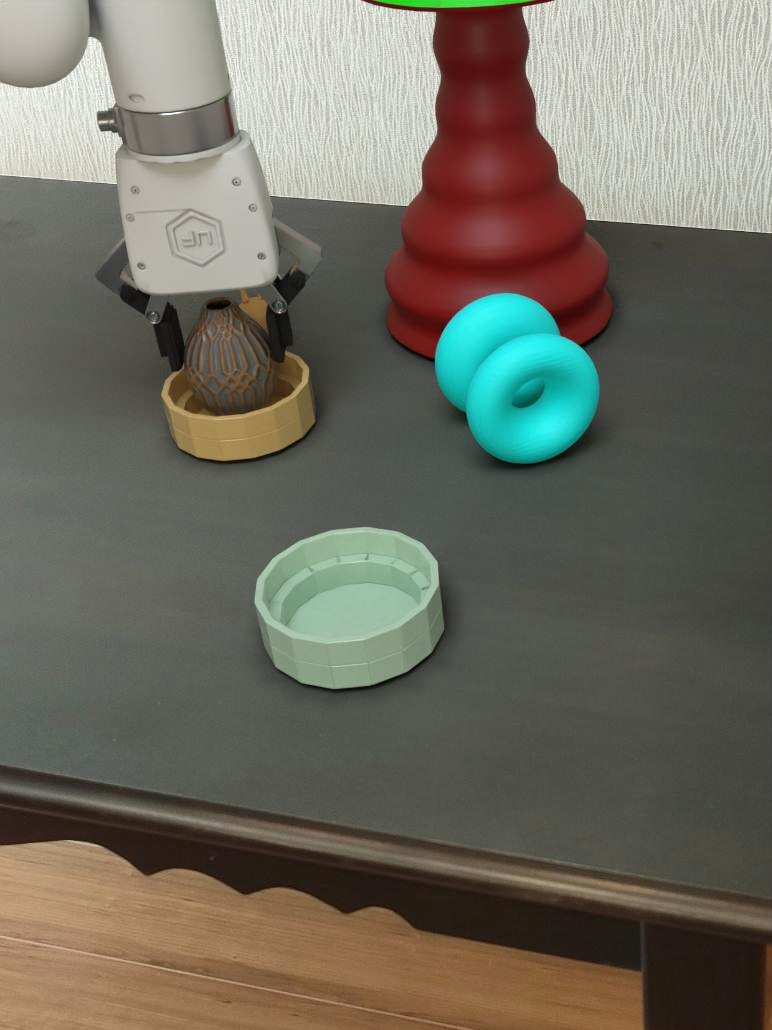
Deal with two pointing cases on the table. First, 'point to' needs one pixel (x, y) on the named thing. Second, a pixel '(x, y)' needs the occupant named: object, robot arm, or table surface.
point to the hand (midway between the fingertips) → (229, 357)
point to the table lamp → (490, 191)
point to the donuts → (516, 378)
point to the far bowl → (242, 417)
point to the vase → (229, 360)
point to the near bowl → (350, 607)
